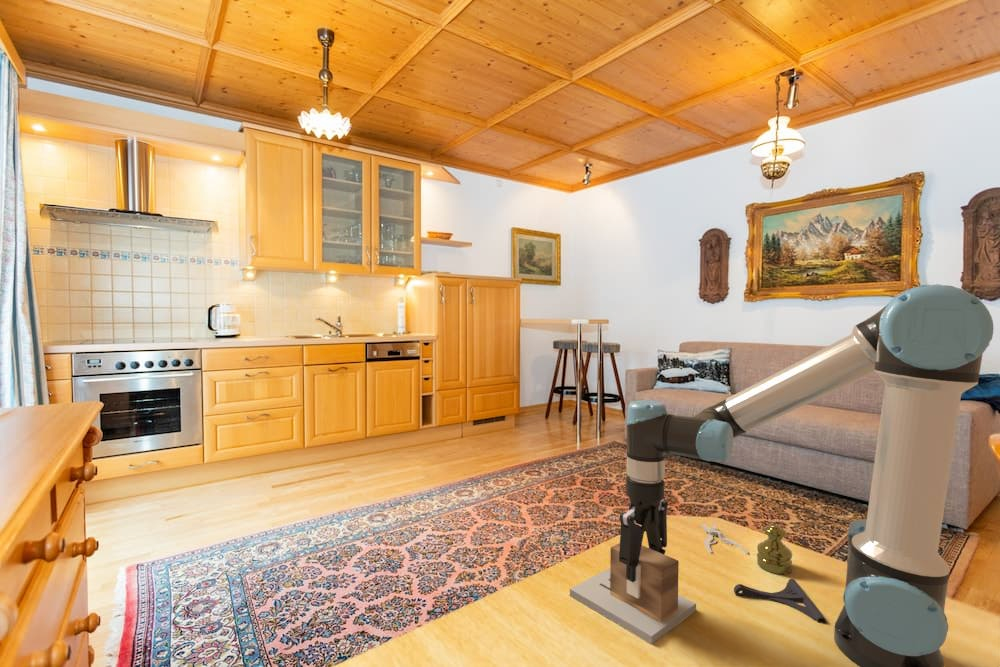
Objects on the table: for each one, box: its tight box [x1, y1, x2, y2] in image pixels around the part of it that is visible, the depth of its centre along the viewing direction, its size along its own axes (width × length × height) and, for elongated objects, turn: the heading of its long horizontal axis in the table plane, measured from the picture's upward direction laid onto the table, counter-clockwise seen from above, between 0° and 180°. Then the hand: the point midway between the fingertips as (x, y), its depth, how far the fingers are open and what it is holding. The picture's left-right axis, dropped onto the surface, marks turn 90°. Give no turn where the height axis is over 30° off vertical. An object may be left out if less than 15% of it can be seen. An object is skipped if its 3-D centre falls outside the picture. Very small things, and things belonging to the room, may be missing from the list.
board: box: [569, 567, 697, 645], centre depth 101 cm, size 20×16×2 cm
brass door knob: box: [756, 524, 793, 575], centre depth 116 cm, size 7×7×10 cm
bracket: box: [733, 578, 827, 624], centre depth 103 cm, size 14×15×3 cm
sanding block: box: [609, 542, 680, 622], centre depth 99 cm, size 12×6×10 cm, turn 40°
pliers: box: [701, 523, 750, 555], centre depth 130 cm, size 10×2×15 cm
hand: (643, 588), depth 99 cm, fingers closed on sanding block, 6 cm apart
